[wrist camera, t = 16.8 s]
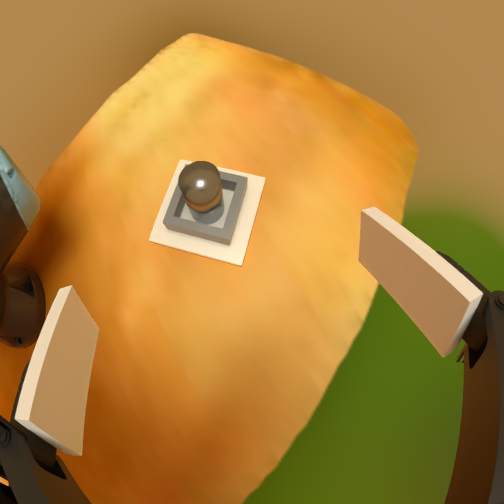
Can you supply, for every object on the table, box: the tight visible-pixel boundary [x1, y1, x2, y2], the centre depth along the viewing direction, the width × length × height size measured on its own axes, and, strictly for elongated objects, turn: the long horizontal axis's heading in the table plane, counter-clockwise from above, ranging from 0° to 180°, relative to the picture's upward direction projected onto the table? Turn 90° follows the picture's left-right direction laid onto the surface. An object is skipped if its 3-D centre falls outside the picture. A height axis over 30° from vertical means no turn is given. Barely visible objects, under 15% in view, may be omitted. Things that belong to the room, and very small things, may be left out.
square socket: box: [149, 159, 266, 267], centre depth 39 cm, size 14×14×4 cm
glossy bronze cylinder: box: [178, 161, 224, 225], centre depth 36 cm, size 5×5×9 cm
